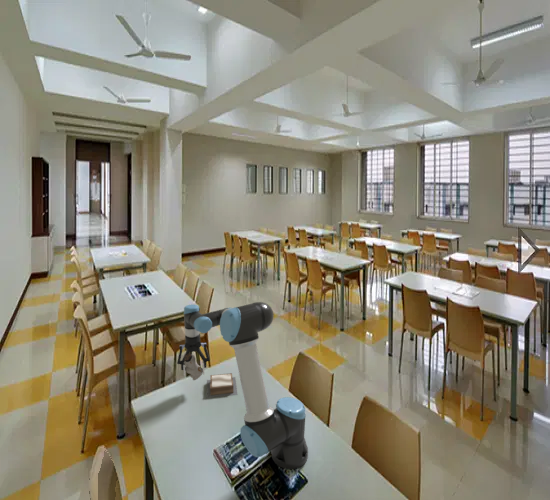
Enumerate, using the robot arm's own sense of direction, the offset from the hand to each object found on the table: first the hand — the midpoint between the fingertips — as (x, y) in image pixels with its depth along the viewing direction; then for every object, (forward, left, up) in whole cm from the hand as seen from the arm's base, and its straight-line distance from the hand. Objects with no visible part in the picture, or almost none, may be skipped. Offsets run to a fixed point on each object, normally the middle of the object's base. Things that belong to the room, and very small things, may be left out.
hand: (194, 374), depth 165 cm
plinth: (0, -14, -10) cm, 17 cm away
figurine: (0, 0, -3) cm, 3 cm away
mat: (0, -14, -10) cm, 17 cm away
